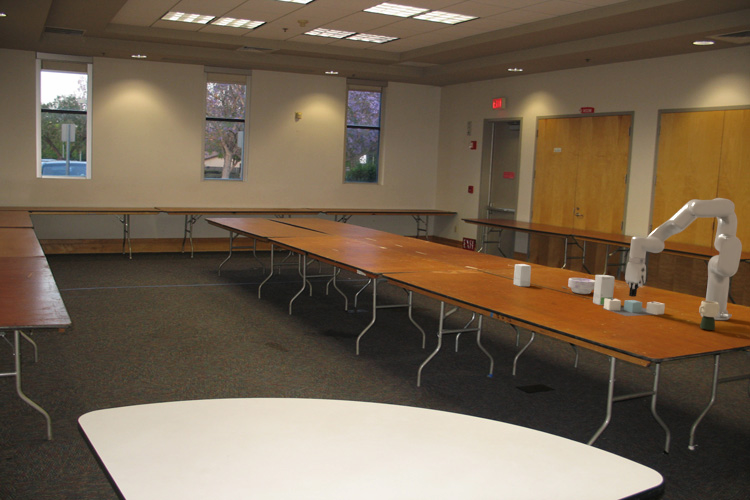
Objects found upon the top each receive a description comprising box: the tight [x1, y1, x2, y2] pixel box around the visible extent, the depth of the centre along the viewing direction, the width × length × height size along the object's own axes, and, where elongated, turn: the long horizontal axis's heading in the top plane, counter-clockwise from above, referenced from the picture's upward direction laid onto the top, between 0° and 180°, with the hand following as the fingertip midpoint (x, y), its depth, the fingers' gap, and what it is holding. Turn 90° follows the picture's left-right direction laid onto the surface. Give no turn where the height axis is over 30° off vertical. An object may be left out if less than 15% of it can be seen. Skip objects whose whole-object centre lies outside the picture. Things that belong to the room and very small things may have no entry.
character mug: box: [698, 300, 720, 331], centre depth 303 cm, size 11×7×13 cm, turn 106°
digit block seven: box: [603, 297, 622, 311], centre depth 339 cm, size 6×6×5 cm
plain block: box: [623, 299, 643, 313], centre depth 336 cm, size 6×6×5 cm
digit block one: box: [645, 301, 666, 315], centre depth 334 cm, size 6×6×5 cm
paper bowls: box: [567, 277, 595, 295], centre depth 384 cm, size 15×15×8 cm
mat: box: [602, 306, 656, 317], centre depth 337 cm, size 18×24×1 cm
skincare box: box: [592, 274, 616, 306], centre depth 352 cm, size 8×7×16 cm
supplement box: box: [513, 263, 532, 287], centre depth 400 cm, size 7×7×13 cm
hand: (632, 296), depth 336 cm, fingers closed
